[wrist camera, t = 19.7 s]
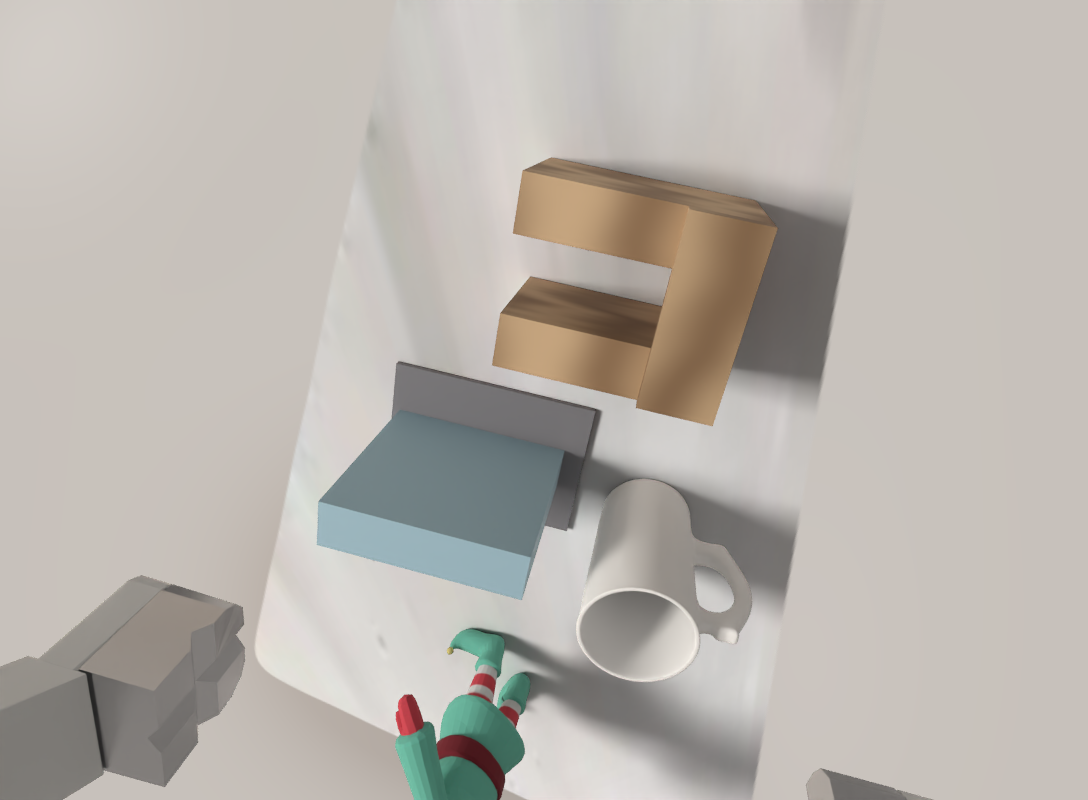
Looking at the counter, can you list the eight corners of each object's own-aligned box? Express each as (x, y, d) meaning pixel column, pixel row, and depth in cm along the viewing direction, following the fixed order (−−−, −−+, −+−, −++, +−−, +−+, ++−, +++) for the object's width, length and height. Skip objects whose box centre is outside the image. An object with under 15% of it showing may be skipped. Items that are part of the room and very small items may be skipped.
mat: (388, 481, 50) (385, 484, 50) (398, 361, 46) (396, 363, 46) (567, 527, 49) (566, 531, 49) (596, 409, 45) (595, 411, 44)
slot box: (522, 321, 43) (487, 372, 35) (550, 157, 39) (518, 172, 31) (705, 363, 42) (712, 426, 34) (755, 200, 38) (777, 228, 30)
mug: (593, 545, 49) (571, 669, 39) (603, 467, 47) (581, 578, 36) (731, 568, 48) (748, 703, 37) (750, 489, 45) (773, 611, 34)
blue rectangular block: (396, 445, 48) (316, 544, 38) (399, 409, 47) (318, 501, 36) (556, 486, 47) (521, 600, 37) (564, 450, 46) (530, 557, 35)
